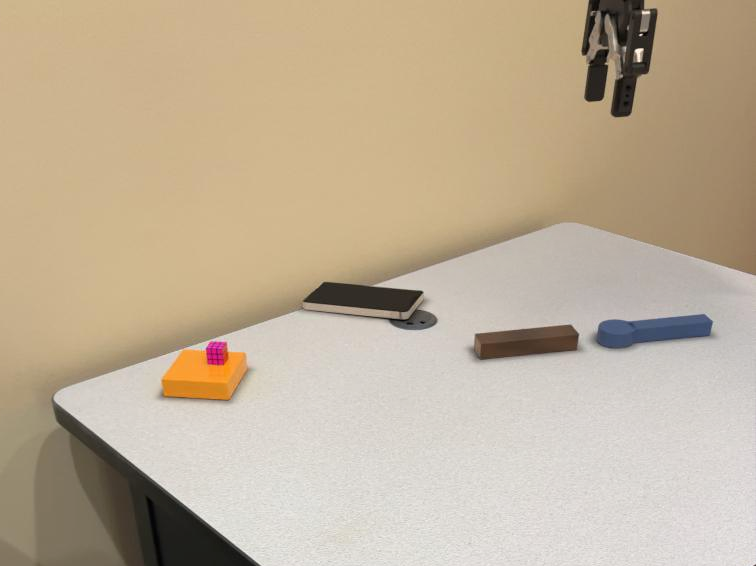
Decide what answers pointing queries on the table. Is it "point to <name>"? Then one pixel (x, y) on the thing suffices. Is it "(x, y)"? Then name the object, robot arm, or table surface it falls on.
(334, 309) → the smartphone
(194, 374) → the orange square platform
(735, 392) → the table surface
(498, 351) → the walnut bar
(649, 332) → the spoon
